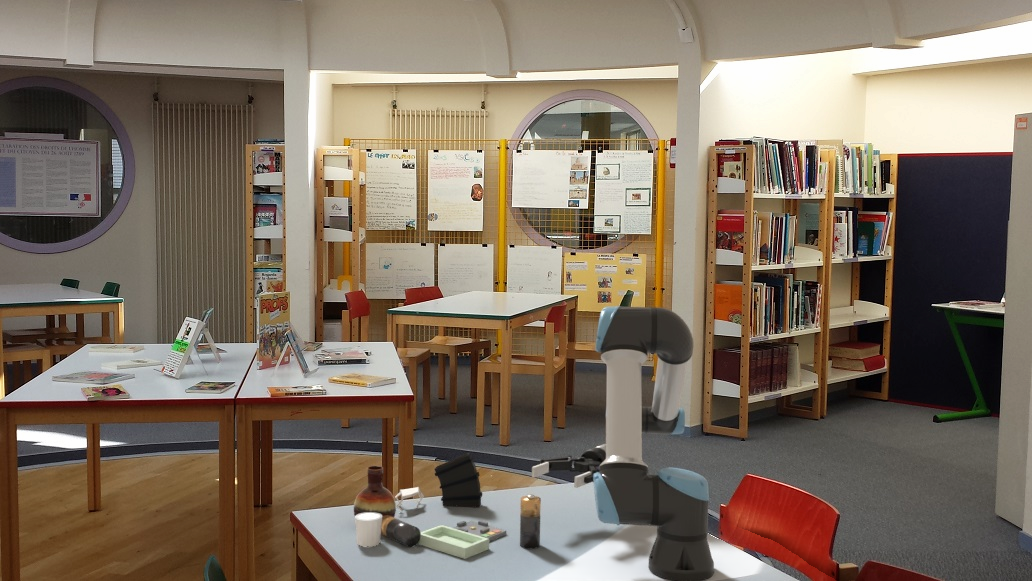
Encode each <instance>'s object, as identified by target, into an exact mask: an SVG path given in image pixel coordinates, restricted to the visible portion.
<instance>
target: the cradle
mask: <svg viewBox="0 0 1032 581" xmlns="http://www.w3.org/2000/svg"><path fill="white" fill-rule="evenodd" d="M452 528H454V529H457V530H461V531H464V532H468V533H471V534H475V535H478V536H481V537H485V538H488V539H489V542H491V541H493V540H496V539H498V538H501V537H504V536H506V535H507V529H506V530H505V529H502V528H498V527H495V526H491V525H489V522H487V521H484V520H478V522H477V521H473V520H470V521H468V522H467V521H466V520H462V521H460V522H457V523H456V526H453V527H452Z"/></svg>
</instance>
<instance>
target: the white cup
mask: <svg viewBox="0 0 1032 581" xmlns="http://www.w3.org/2000/svg"><path fill="white" fill-rule="evenodd" d="M354 522H355V535H356V544H358V545H357V546H359V545H361V546H374V547H377V546H379V545H380V544H381V536H382V534H381V526H382V515H381V514H379V513H375V512H365V513H360V514H357V515H356V516H355V515H354ZM379 543H380V544H379ZM378 544H379V545H378ZM376 545H377V546H376ZM361 546H360V547H361Z"/></svg>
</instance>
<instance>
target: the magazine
mask: <svg viewBox="0 0 1032 581" xmlns="http://www.w3.org/2000/svg"><path fill="white" fill-rule="evenodd" d="M474 458H475V457H474V455H471V453H470V452H468V453H465V454H463V455H460V456H458V457H455V458H452V459H451V460H448V461H446V462H444V463H442V464H439V465H437V466H435V467H434V469H433V470H434V471H435V473H434V476H435V477H437V478H438V480H439V483H440V485H439V490H441V494H442V496H441V497H440V501H441V502H442V507H444V506H445V507H446V506H447V507H460V508H461V507H462V508H479V509H480V508H481V505H482V497H483V491H481V483H480V478H479V476H480V471H478V470H477V467H476V464H475V461H474V460H473V459H474Z"/></svg>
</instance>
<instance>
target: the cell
mask: <svg viewBox="0 0 1032 581" xmlns="http://www.w3.org/2000/svg"><path fill="white" fill-rule="evenodd" d="M541 502H542V499H541V497H540V496H538V495H535V494H533V493H532V494H527V495H523V496H521V497H520V517H519V518H520V519H519V521H520V524H519V528H520V529H519V546H520V547H521V548H523V549H526V550H534V549H538V548H539V547H540V546H541V508H542V506H541V505H542V504H541Z"/></svg>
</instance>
